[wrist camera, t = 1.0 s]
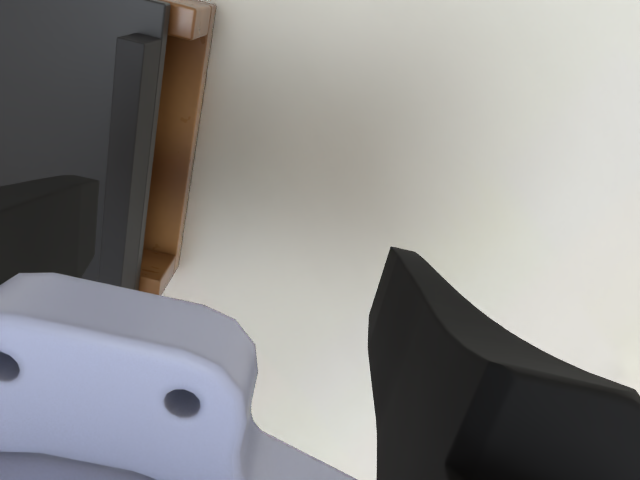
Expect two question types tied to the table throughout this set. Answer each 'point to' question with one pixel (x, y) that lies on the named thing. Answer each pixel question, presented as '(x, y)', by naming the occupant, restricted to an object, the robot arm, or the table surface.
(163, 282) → the brown wooden shelf
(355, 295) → the table surface
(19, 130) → the lid
